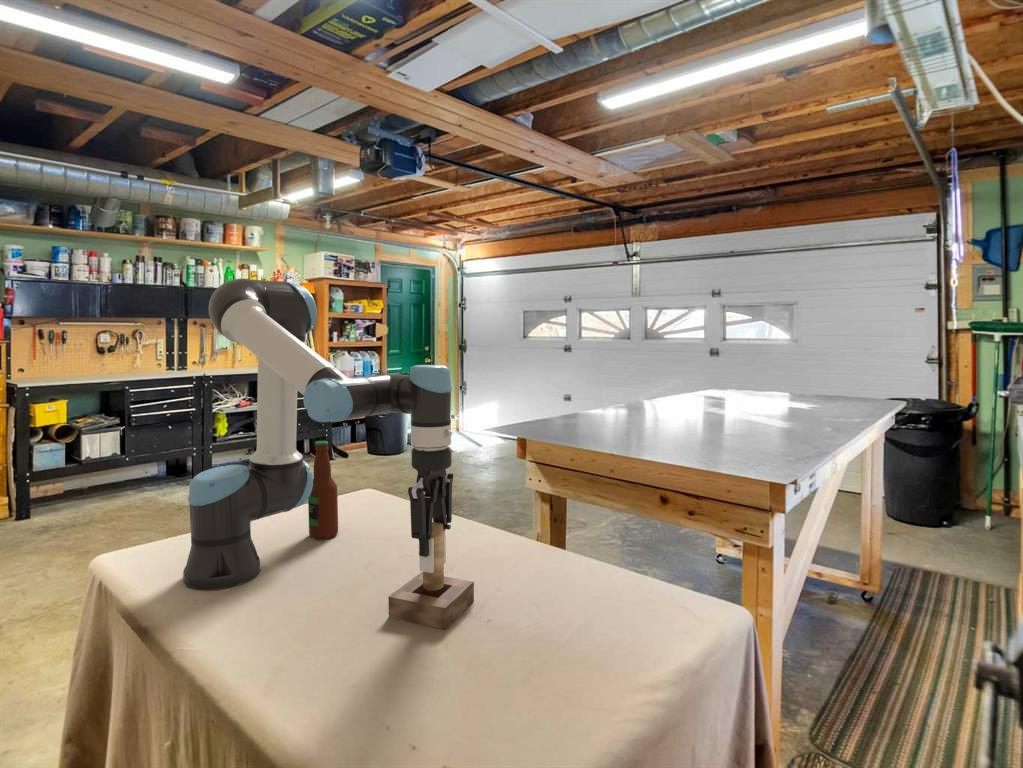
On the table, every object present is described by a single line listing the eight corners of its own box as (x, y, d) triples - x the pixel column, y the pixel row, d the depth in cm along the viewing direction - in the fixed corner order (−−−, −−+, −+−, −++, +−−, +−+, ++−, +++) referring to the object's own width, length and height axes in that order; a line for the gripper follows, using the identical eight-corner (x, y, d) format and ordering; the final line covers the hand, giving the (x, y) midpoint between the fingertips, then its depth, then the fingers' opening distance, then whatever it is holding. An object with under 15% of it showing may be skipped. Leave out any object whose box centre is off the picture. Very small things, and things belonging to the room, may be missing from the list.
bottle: (317, 530, 157) (314, 438, 154) (342, 531, 156) (341, 439, 153) (303, 539, 149) (301, 443, 147) (330, 541, 148) (328, 444, 146)
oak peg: (419, 588, 111) (418, 527, 110) (429, 580, 115) (428, 521, 114) (437, 591, 109) (436, 529, 108) (447, 583, 113) (446, 523, 112)
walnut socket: (388, 617, 109) (388, 596, 109) (421, 590, 120) (421, 572, 120) (445, 629, 105) (445, 608, 104) (473, 601, 116) (473, 581, 116)
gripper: (426, 457, 100) (427, 587, 102) (469, 440, 116) (469, 554, 118) (389, 453, 103) (391, 581, 105) (436, 438, 119) (437, 549, 121)
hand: (432, 566), depth 112 cm, fingers closed on oak peg, 4 cm apart
